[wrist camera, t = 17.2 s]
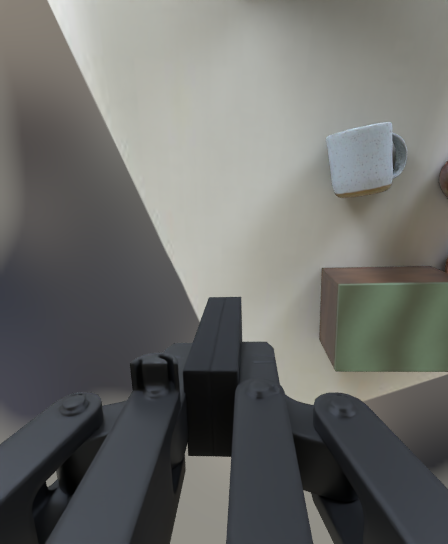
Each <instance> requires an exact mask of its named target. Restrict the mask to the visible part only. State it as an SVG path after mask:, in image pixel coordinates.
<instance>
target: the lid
mask: <svg viewBox="0 0 448 544" xmlns="http://www.w3.org/2000/svg"><path fill="white" fill-rule="evenodd" d="M334 369H335V371H357V372H448V282H413V283H350V284H338V294H337V315H336V337H335V358H334Z"/></svg>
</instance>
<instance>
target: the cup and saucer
mask: <svg viewBox="0 0 448 544" xmlns="http://www.w3.org/2000/svg"><path fill="white" fill-rule="evenodd" d="M445 272H446V273H448V258H447V261H446V266H445Z"/></svg>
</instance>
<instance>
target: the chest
mask: <svg viewBox="0 0 448 544" xmlns="http://www.w3.org/2000/svg"><path fill="white" fill-rule="evenodd" d="M413 282H448V273H446V272H444V271H441V270H439V269H436V268H433V267H431V266H405V267H352V268H322V279H321V307H320V336H319V340H320V342H321V343H322V345H323V347H324V349H325V351H326V353H327V355H328V357H329V359H330V361H331V363H332V365H333V367H334V358H335V337H336V315H337V294H338V284H350V283H413Z"/></svg>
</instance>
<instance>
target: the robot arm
mask: <svg viewBox="0 0 448 544" xmlns="http://www.w3.org/2000/svg"><path fill="white" fill-rule="evenodd" d="M130 368H131V378H132V388H133V391H132V393H131V395H130V396H129V398H128V400H127V401H123V402H119V403H114V404H109V405H104V406H102V401H101V398H100V397H99V395H97V394H95V393H92V392H78V393H73V394H71V395H68V396H66V397H63V398H61V399H60V400H58V401H56V402H55V403H53V404H52V405H51V406H49V407H48V408H47V409H46V410H44V411H43V412H42V413H40V414H39V415H38V416H36V417H35V418H34V419H33V420H31V421H30V422H29V423H28V424H26V425H25V426H24V427H22V428H21V429H20V430H18V431H17V432H16V433H14V434H13V435H12V436H10V437H9V438H8V439H7V440H5V441H4V442H3V443H1V444H0V544H170V540H171V536H172V531H173V526H174V522H175V517H176V512H177V508H178V503H179V498H180V494H181V489H182V484H183V480H184V475H185V451H186V446H187V442H188V455H189V456H223V457H231V473H230V489H229V506H228V507H229V508H228V524H227V540H226V544H313V541H312V535H311V530H310V524H309V519H308V514H307V509H306V503H305V498H304V493H303V490H305V491H308V492H311V494H312V498H313V501H314V503H315V506H316V507H317V509H318V512H319V514H320V516H321V518H322V520H323V522H324V524H325V526H326V528H327V530H328V532H329V534H330V536H331V538H332V541H333V543H334V544H448V489H447V488H446V487H445V486H444V485H443V484H442V483H441V481H440V480H439V479H437V477H436V476H435V475H434V474H433V473H432V472H431V471H430V470H429V469H428V468H427V467H426V466H425V465H424V464H423V463H422V462H421V461H420V460H419V459H418V458H417V457H416V456H415V455H414V454H413V453H412V452H411V451H410V449H408V447H407V446H406V445H405V444H404V443H403V442H402V441H401V440H400V439H399V438H398V437H397V436H396V435H395V434H394V433H393V432H392V431H391V430H390V429H389V428H388V427H387V426H386V425H385V424H384V423H383V421H382V420H380V418H379V417H378V416H376V414H375V413H374V412H373V411H372V410H371V409H370V408H369V407H368V406H367V405H366V404H365V403H363V402H362V401H361V400H359V399H358V398H355V397H353V396H351V395H348V394H344V393H326V394H323V395H320V396H319V397H318V398H316V399H315V402H314V405H310V404H305V403H302V402H298V401H295V400H293V399H291V398H289V397H288V396H287V395H285V393H284V390H283V388H282V386H281V385H280V383H279V377H278V372H277V366H276V360H275V355H274V349H273V347H272V346H271V345H269V344H268V343H267V342H242V315H241V297H209V299H208V302H207V305H206V307H205V310H204V313H203V316H202V318H201V321H200V324H199V327H198V330H197V332H196V335H195V338H194V341H193V343H174V344H172V345H171V346H169V347H168V348H167V349H166V350H165V352H164V353H162V352H158V353H150V354H146V355H142V356H140V357H138V358H136V359H134V360H133V361H132V362H131V363H130ZM55 471H56V472H57V478H58V479H57V480H56V481H55V482H54V483H53V484H52V485H51V486H49V487H47V486H46V480H47V479H48V478H49V477H50V476H51V475H52V474H53V473H54V472H55Z"/></svg>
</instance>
